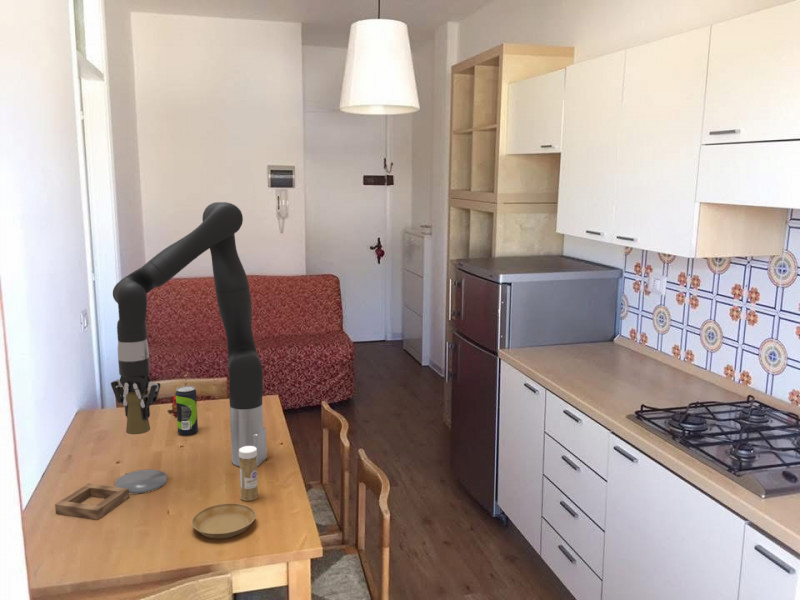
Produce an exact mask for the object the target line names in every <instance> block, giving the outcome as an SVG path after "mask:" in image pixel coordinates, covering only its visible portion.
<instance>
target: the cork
mask: <svg viewBox="0 0 800 600" xmlns="http://www.w3.org/2000/svg"><path fill="white" fill-rule="evenodd" d="M145 394H146V393H145V392H144V393H142V395H145ZM144 400H145V401H146V397H145V398H144ZM126 401H127V403H128V415H127V417H126V428H125V429H126V431H125V432H126V433H127V434H128V435H142V434H145V433H148V432H149V431H150V430H151V425H150V424H151V423H150V421H149V418H148V419H147V420H145V421H143V419H142V414H141V404H140V403H141V399H139V398H138V396H137V395H136V392H129V393H128V394H127V395H126Z"/></svg>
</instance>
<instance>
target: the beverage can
mask: <svg viewBox="0 0 800 600" xmlns="http://www.w3.org/2000/svg"><path fill="white" fill-rule="evenodd" d="M175 393H176V407H177V417H176V422H177V423H176V424H177V425H176V426H177V433H178V434H179V435H180V436H186V437H187V436H193V435H195V434H196V433H197V432H198V429H199V428H198V426H199V425H198V407H197V405H198V404H197V401H198V400H197V390H196V387H195V386H193V385H186V386H185V385H183V386H178V387H176V392H175Z"/></svg>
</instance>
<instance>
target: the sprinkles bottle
mask: <svg viewBox="0 0 800 600" xmlns="http://www.w3.org/2000/svg"><path fill="white" fill-rule="evenodd" d="M256 457H257V448H256V447H254V446H244V447H242V448H240V449H239V458H240V466H239V483H240V484H239V485H240V499H241V500H242V501H244V502H250V501H251V502H252V501H254V500H256V499H258V498H259V493H258V485H259V484H258V466H257V460H256V459H257V458H256Z"/></svg>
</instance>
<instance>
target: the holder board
mask: <svg viewBox="0 0 800 600" xmlns="http://www.w3.org/2000/svg"><path fill="white" fill-rule="evenodd" d="M93 496H94V497H95V498H100V497H102V498H101V499H103V500H102V501H100V502H98V503H97V504H96V505H94V504H87V503H83V502H84V501H86V500H87V499H90V497H93ZM103 497H104V498H103ZM128 497H129V498H130V494H129V489H127V488H120V487H115V486H112V485H111V486H109V485H106V484H105V485H103V484H95V483H89V482H88V483H87V484H86V485H84V486H83V487H81V488H79V489H77V490H75V491H74V492H72V493H71V494H69V495H68V496H66V497H65V498H63V499H62V500H59V501H58V502H56V503H55V504H54V507H55V514H57V515H65V516H71V517H76V518H77V517H78V518H85V519H90V520H97V521H99V520H100V519H101V518H102V517H104V516H106V515H107V514H109V512H111V511H112V510H114V509H115V508H117V507H118V506H120V503H121V502H122V503H123V502H125V501H126V500H127V499H126V498H128ZM129 498H128V499H129ZM125 499H126V500H125ZM124 500H125V501H124ZM122 503H121V504H122ZM117 505H118V506H117ZM114 507H115V508H114ZM113 508H114V509H113Z"/></svg>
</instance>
